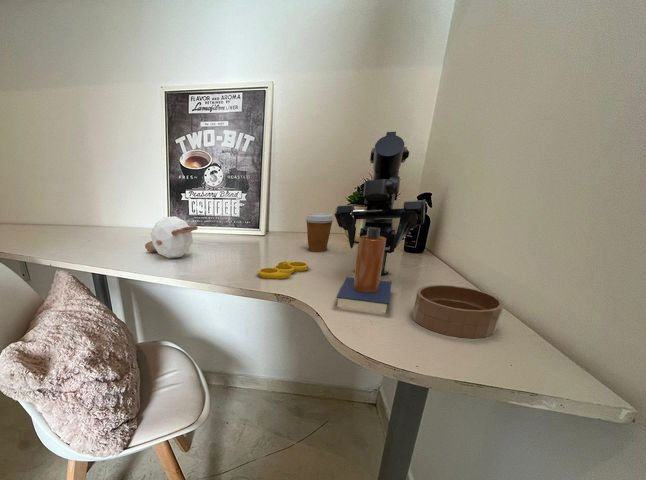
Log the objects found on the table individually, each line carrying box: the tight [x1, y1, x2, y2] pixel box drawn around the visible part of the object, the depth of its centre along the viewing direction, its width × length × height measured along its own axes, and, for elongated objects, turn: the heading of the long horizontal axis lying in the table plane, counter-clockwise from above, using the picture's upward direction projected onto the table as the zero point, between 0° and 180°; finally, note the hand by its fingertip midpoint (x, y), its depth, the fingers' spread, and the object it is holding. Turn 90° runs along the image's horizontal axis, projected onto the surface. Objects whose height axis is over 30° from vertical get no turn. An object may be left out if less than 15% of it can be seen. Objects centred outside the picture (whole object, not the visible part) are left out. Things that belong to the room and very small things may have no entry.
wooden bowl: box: [411, 284, 505, 339], centre depth 61 cm, size 13×13×6 cm
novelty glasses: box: [258, 261, 309, 280], centre depth 94 cm, size 17×2×10 cm
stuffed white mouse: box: [144, 216, 198, 259], centre depth 110 cm, size 14×25×14 cm, turn 51°
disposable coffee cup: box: [305, 213, 334, 253], centre depth 116 cm, size 10×10×12 cm
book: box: [336, 276, 392, 314], centre depth 73 cm, size 14×10×3 cm
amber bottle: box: [353, 227, 386, 293], centre depth 70 cm, size 5×5×13 cm
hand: (372, 247), depth 74 cm, fingers open, 9 cm apart
